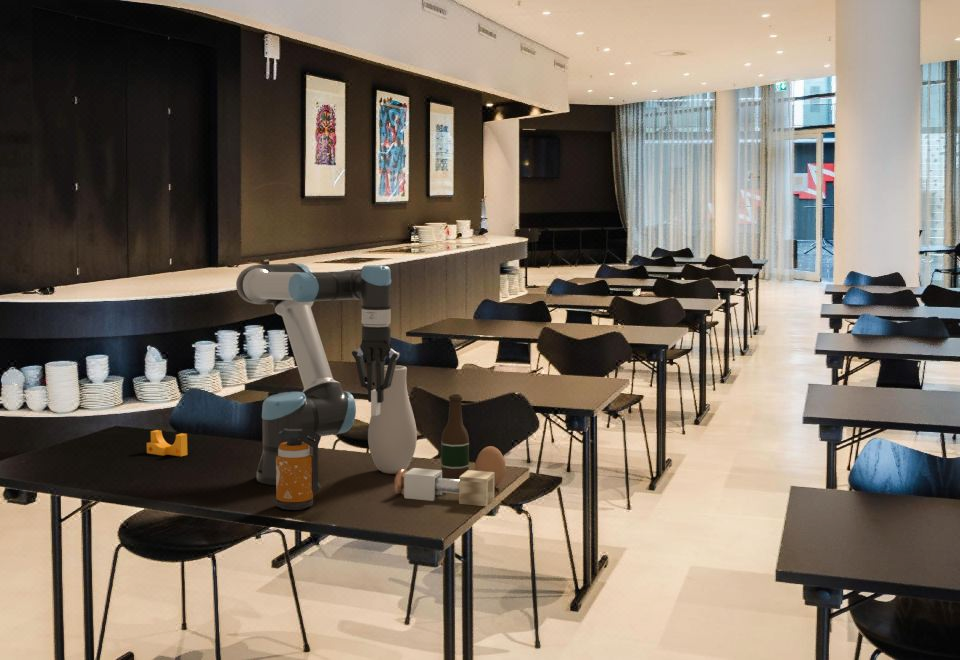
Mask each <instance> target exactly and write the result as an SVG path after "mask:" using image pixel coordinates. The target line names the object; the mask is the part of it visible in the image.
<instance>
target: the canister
mask: <svg viewBox="0 0 960 660" xmlns="http://www.w3.org/2000/svg"><path fill="white" fill-rule="evenodd" d="M283 435H284V440H288V441H287V442H284V443H281V444H280V445H279V447H278V456H277V457H276V485H275V486H276V487H275V488H276V496H275V497H276V506H277V507H278V508H281V509H283V510H286V511H299V510H304V509H307V508H309V507H311V506H312V505H313V504H314V499H313V498H314V493H316V492H317V491H318V490H320V489H321V486H322V485H321V484H320V482H319V457H320V455H319V453H320V451H319V444H320V441H321V438H322V436H319V435H318V434H316V433H314V432H313V431H311V430H310V429H308V428H306V427H304V428H303V429H288V428H284V430H283V431H280V432H279V433H278V436H279V437H282V436H283ZM307 435H308V436H309V437H311V438H308V437H307ZM311 448H312V454H311Z"/></svg>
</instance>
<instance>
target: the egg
mask: <svg viewBox="0 0 960 660" xmlns="http://www.w3.org/2000/svg"><path fill="white" fill-rule="evenodd" d="M506 470H507V465H506V460H505V458H504V456H503V454H502V451H501V450H499V449H498V448H497V447H495V446H491V445H490V446H486V447H484V448H483V449H482V450H481V451H480V452H479V453H478V455H477V458H476V460H475V464H474V471H485V472H495V481H494V488H495V487H497V486H499V485H500V484H501V483H502V481H503V480H504V479H505V476H506Z"/></svg>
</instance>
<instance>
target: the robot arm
mask: <svg viewBox="0 0 960 660" xmlns="http://www.w3.org/2000/svg"><path fill="white" fill-rule="evenodd" d="M235 285H236V287H235V288H236V291H237V293H238V295H239V297H240V298H241V299H243V301H245V302H247V303H250V304H255V305H273V308H274V311H275V314H277V315H279V316H281V317H282V320H283V323H284V326H285V330H286V333H287V338H288V340H289V342H290V346H291V349H292V353H293V356H294V360H295V362H296V363H295V364H296V366H297V369H298V373H299V376H300V379H301V382H302V386H303V390H302V391H285V392H278V393H276V394H272V395H270V396H268V397H266V398H265V399H264V400H263V403H262V410H261V411H262V412H261V420H262V423H261V424H262V426H261V427H262V454H261V457H260V460H259V463H258V466H257V470H256V481H257V482H258V483H261V484H264V485H269V486H276V457H277V456H278V447H279V445H280V444H281V443H284V442H287V441H288V440H284V435H283V436H282V437H279V436H278V433H279V432H280V431H283V430H284V428H288V429H303V428H304V427H306V428H308V429H310V430H311V431H313V432H314V433H316V434H318V435H319V436H321V437H325V436H326V437H327V436H336V435H339V434H343V433H348V431H349V430H351V428H352V427H353V425H354V423H355V419H356V416H357V415H356V414H357V406H356V400H355V398H354V396H353V394H352V393H351V392H350V391H347V390H346V391H345V390H343V388H342V385H341V383H340V382H339V381H337V380H335V379H334V377H333V374H332V370H331V368H330V364H329V362H328V358H327V355H326V352H325V349H324V346H323V343H322V340H321V336H320V333H319V330H318V327H317V323H316V321H315V317H314V313H313V311H312V306H313V305H314V302H322V301H323V302H325V301H326V302H328V301H330V302H331V301H345V300H346V301H347V300H357V301H361V324H363V325H362V326H361V343H360V345H359V347H358V348H357V349H356V350H353V351H351V356H353V359H354V360H355V364H356V370H357V374H358V377H359V383H360V386H361V388H365V389H367V401H368V403H370V415H373V416H377V415H379V414H380V403H382V402H383V400H384V389H387V388H389V387H390V386H391V382H392V378H393V374H394V370H395V366H396V365H397V361H398V359H399V358H400V356H401V353H400V352H399V351H395V350H394V349H393V346H392V344H391V330H392V329H391V326H390V324H391V321H392V320H391V319H392V313H391V309H392V307H391V303H392V302H391V301H392V277H391V268H390V267H389V266H387V265H380V264H379V265H378V264H377V265H376V264H370V265H366V264H365V265H364V266H362V267H361V271H359V270H355V269H347V270H346V269H345V270H341V271H340V270H339V271H312V269H311V268H310V267H308V266H307V265H305V264H304V263H295V262H290V263H289V262H288V263H272V264H271V263H269V264H262V263H261V264H253V265H250V266H248V267H246V268H245V269H243V270H242V271H241V272H240V273H239V275H238V277H237V278H236V283H235ZM363 355H364V356H365V357H363ZM388 355H389V356H388ZM387 357H388V358H389V360H388V363H387V365H388V367H387V371H386V375H385V380H384V366H385V363H386V359H387ZM364 358H366V365H365V360H364ZM366 367H367V368H366ZM307 437H308V438H310V439H312V438H311V437H309V436H308V435H307Z"/></svg>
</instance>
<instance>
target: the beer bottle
mask: <svg viewBox="0 0 960 660" xmlns="http://www.w3.org/2000/svg"><path fill="white" fill-rule="evenodd" d="M448 400H449V404H448V405H449V407H448V408H449V409H448V419H447V420H448V421H447V424H446V426H445V427H444V428H443V431H442V433H441V440H440V441H441V445H440V447H441V449H440V450H441V452H440V453H441V454H440V458H441V459H440V463H441V464H440V470H442V478H447V479H458V480H459V477H460V476H461V475H462V474H463V473H465V472H466V471H467V470H470V438H469V433H468V430H467V428H466V427H465V426H464V423H463V409H462V400H463V398H462V395H461V394H459V393H458V394H457V393H454V394H452V393H451V394H449V397H448Z"/></svg>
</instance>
